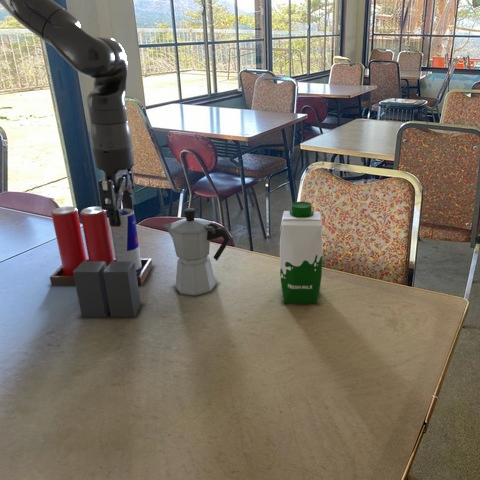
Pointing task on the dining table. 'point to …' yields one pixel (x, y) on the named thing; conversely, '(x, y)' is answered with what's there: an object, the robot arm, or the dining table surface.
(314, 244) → the milk carton
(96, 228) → the drink can
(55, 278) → the can tray
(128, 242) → the beverage can
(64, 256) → the drink can
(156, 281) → the dining table surface
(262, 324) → the dining table surface
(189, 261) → the coffee maker
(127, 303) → the grey block
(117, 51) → the robot arm
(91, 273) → the grey block
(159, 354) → the dining table surface
